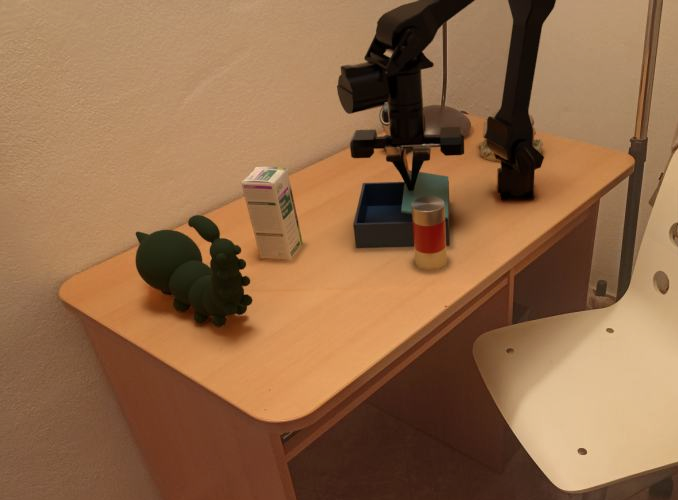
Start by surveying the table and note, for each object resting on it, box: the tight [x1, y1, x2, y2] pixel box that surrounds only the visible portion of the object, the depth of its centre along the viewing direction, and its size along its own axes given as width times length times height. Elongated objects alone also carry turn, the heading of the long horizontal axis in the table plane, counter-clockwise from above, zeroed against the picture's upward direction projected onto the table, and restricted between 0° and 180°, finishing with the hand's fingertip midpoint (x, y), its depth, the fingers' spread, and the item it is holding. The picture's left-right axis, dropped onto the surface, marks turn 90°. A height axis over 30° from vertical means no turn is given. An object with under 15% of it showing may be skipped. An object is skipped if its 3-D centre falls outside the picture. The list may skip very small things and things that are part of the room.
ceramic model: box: [478, 108, 544, 163], centre depth 144 cm, size 14×11×10 cm
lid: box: [401, 169, 449, 220], centre depth 118 cm, size 8×16×1 cm, turn 0°
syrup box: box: [240, 166, 304, 261], centre depth 112 cm, size 6×6×14 cm
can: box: [411, 196, 448, 271], centre depth 109 cm, size 5×5×11 cm
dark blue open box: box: [352, 180, 450, 249], centre depth 121 cm, size 16×16×5 cm
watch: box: [378, 106, 413, 155], centre depth 146 cm, size 6×8×11 cm
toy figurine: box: [135, 214, 253, 328], centre depth 99 cm, size 9×19×25 cm
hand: (411, 189), depth 118 cm, fingers closed
